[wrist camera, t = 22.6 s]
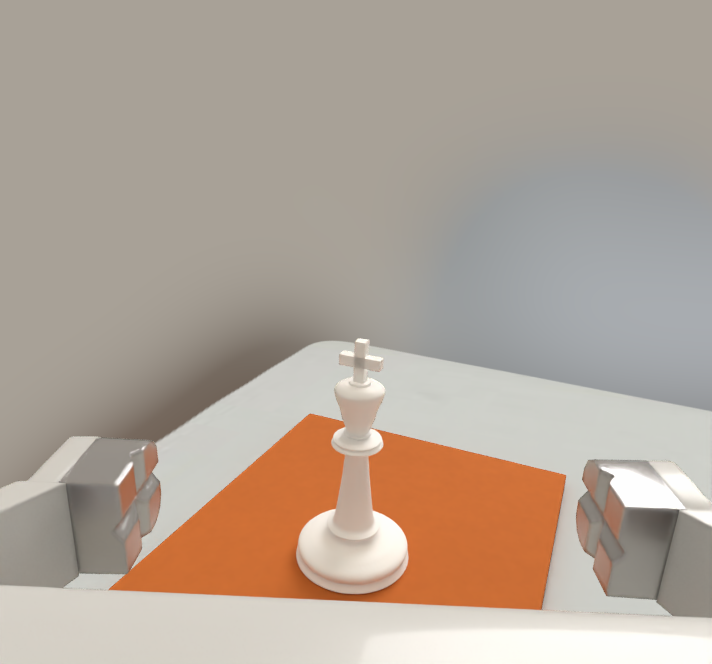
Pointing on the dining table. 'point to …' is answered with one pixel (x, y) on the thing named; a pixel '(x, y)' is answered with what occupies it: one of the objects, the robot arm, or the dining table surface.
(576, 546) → the dining table surface
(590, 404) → the dining table surface
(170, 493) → the dining table surface
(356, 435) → the chess piece
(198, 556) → the cloth mat
